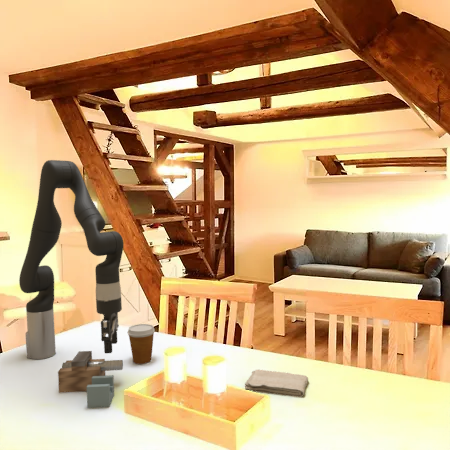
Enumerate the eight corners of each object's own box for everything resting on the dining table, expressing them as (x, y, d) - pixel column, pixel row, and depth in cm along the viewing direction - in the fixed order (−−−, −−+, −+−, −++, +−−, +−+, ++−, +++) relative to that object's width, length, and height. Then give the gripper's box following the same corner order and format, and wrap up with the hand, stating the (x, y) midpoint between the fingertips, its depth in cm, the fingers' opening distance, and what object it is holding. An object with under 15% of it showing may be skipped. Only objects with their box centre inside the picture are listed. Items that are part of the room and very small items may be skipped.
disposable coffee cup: (160, 361, 157) (159, 328, 156) (134, 368, 152) (133, 333, 151) (148, 353, 165) (147, 321, 164) (124, 359, 159) (123, 326, 158)
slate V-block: (87, 408, 124) (86, 387, 123) (93, 395, 131) (92, 376, 131) (109, 407, 124) (108, 386, 124) (114, 394, 132) (113, 375, 131)
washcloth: (253, 376, 144) (253, 366, 144) (309, 382, 139) (309, 372, 138) (243, 392, 133) (243, 382, 133) (304, 399, 127) (304, 388, 127)
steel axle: (62, 374, 137) (61, 365, 136) (65, 369, 140) (64, 360, 139) (121, 371, 138) (121, 362, 137) (123, 366, 141) (122, 358, 140)
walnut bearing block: (59, 392, 134) (57, 362, 133) (67, 380, 143) (66, 352, 142) (99, 390, 135) (98, 360, 134) (105, 378, 143) (104, 350, 143)
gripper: (101, 292, 144) (103, 341, 145) (90, 302, 130) (93, 357, 131) (124, 291, 145) (127, 340, 146) (116, 301, 130) (119, 355, 131)
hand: (111, 348), depth 138 cm, fingers open, 8 cm apart
